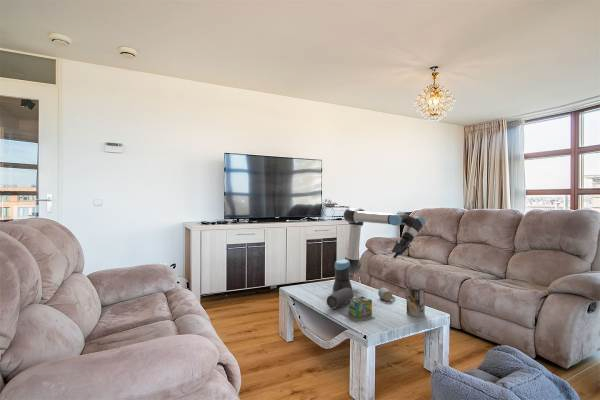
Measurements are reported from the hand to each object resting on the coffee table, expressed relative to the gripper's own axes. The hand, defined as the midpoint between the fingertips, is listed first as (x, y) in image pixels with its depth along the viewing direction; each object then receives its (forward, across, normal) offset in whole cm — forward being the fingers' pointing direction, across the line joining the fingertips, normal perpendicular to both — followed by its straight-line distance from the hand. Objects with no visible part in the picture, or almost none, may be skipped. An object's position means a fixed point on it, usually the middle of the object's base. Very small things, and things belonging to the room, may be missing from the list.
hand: (390, 261), depth 214 cm
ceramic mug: (+17, +10, -25) cm, 32 cm away
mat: (+43, -6, +2) cm, 44 cm away
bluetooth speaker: (+43, +13, +1) cm, 45 cm away
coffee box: (+20, -22, -22) cm, 37 cm away
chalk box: (+34, -7, -1) cm, 34 cm away
